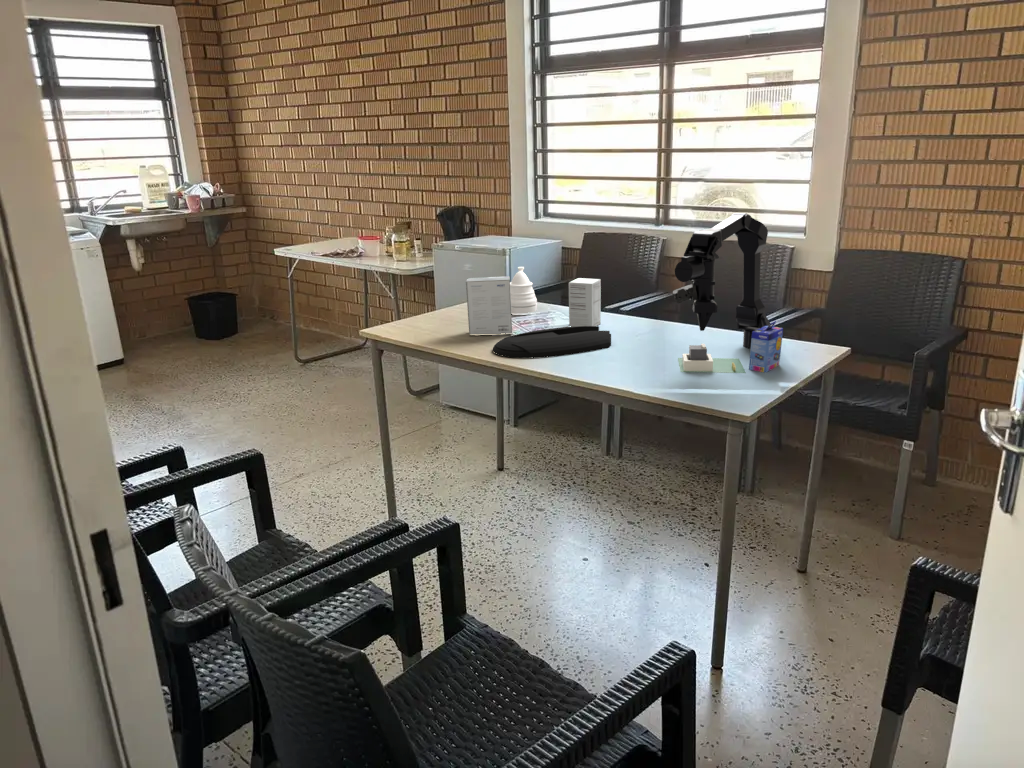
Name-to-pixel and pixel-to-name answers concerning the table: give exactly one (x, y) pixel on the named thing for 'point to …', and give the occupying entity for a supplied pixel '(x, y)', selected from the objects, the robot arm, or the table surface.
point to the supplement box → (584, 302)
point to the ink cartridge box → (765, 348)
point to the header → (697, 364)
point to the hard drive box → (489, 305)
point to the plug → (697, 352)
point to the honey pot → (522, 294)
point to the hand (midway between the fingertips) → (701, 330)
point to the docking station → (554, 342)
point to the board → (721, 366)
